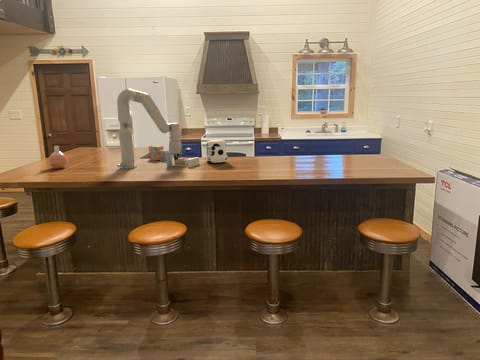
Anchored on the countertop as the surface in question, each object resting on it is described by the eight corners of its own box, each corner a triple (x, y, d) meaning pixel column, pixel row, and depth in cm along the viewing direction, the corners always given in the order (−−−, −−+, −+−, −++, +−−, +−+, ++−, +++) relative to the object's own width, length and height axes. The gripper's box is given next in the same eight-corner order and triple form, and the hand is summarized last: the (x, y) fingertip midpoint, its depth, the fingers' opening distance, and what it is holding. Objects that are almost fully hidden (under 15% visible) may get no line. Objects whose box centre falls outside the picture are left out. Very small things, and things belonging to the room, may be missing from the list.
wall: (189, 167, 269) (189, 159, 268) (187, 167, 270) (187, 159, 269) (199, 164, 281) (199, 157, 279) (197, 164, 281) (196, 157, 280)
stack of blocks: (171, 160, 303) (170, 146, 301) (165, 162, 298) (164, 147, 296) (155, 158, 316) (154, 145, 313) (149, 159, 311) (148, 145, 309)
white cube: (228, 161, 297) (228, 139, 293) (225, 164, 281) (225, 142, 277) (208, 161, 299) (207, 139, 295) (204, 164, 282) (203, 142, 278)
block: (185, 166, 273) (185, 160, 272) (174, 165, 277) (174, 159, 276) (192, 164, 282) (192, 158, 281) (182, 163, 286) (182, 157, 285)
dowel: (170, 168, 271) (169, 152, 268) (166, 167, 273) (165, 152, 270) (173, 167, 274) (172, 151, 272) (169, 166, 276) (168, 151, 274)
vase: (60, 170, 269) (57, 147, 265) (45, 169, 271) (42, 146, 267) (72, 166, 282) (69, 144, 278) (57, 166, 284) (54, 144, 280)
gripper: (164, 139, 278) (165, 161, 282) (180, 139, 272) (181, 163, 276) (170, 138, 285) (171, 160, 289) (185, 138, 278) (186, 161, 282)
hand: (176, 161), depth 282 cm, fingers closed
